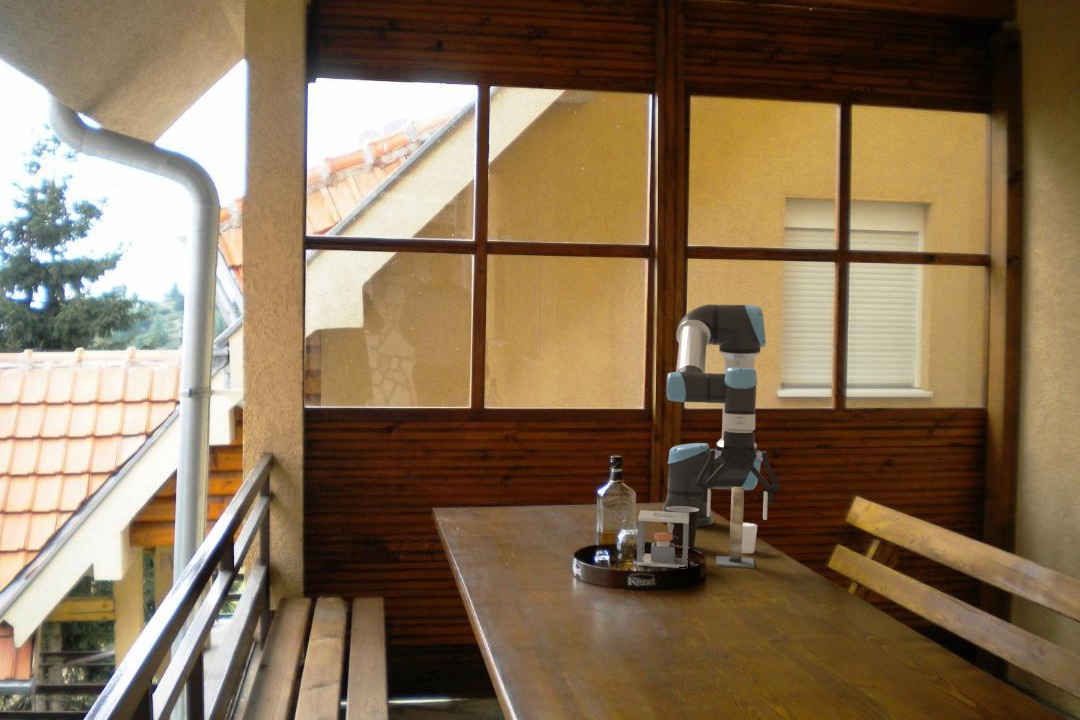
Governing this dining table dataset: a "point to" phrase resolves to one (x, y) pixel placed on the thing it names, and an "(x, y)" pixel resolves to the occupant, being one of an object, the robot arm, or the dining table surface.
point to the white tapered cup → (748, 537)
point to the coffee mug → (677, 528)
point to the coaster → (743, 564)
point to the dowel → (736, 524)
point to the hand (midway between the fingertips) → (736, 517)
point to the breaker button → (663, 539)
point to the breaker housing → (659, 553)
